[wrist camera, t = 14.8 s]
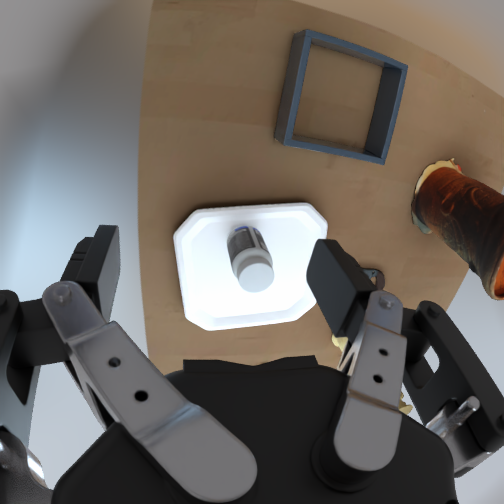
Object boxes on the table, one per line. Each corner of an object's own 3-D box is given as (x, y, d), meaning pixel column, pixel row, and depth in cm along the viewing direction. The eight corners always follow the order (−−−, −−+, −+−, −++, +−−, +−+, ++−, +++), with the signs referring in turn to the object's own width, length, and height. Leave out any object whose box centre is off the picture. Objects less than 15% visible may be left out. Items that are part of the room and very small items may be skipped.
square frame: (273, 137, 37) (283, 145, 33) (293, 33, 30) (306, 28, 26) (367, 155, 40) (384, 165, 36) (388, 64, 33) (408, 65, 30)
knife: (390, 271, 52) (392, 273, 51) (380, 289, 54) (382, 291, 53) (324, 260, 48) (326, 262, 47) (314, 281, 50) (316, 283, 49)
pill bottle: (223, 254, 42) (230, 294, 35) (230, 221, 39) (239, 258, 32) (257, 257, 43) (271, 297, 36) (266, 226, 41) (283, 262, 34)
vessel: (478, 185, 46) (556, 239, 29) (437, 245, 51) (505, 313, 35) (442, 138, 40) (541, 189, 24) (394, 209, 46) (478, 285, 29)
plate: (325, 196, 42) (331, 202, 41) (310, 310, 53) (314, 318, 51) (171, 205, 39) (170, 213, 37) (187, 323, 50) (188, 333, 48)
